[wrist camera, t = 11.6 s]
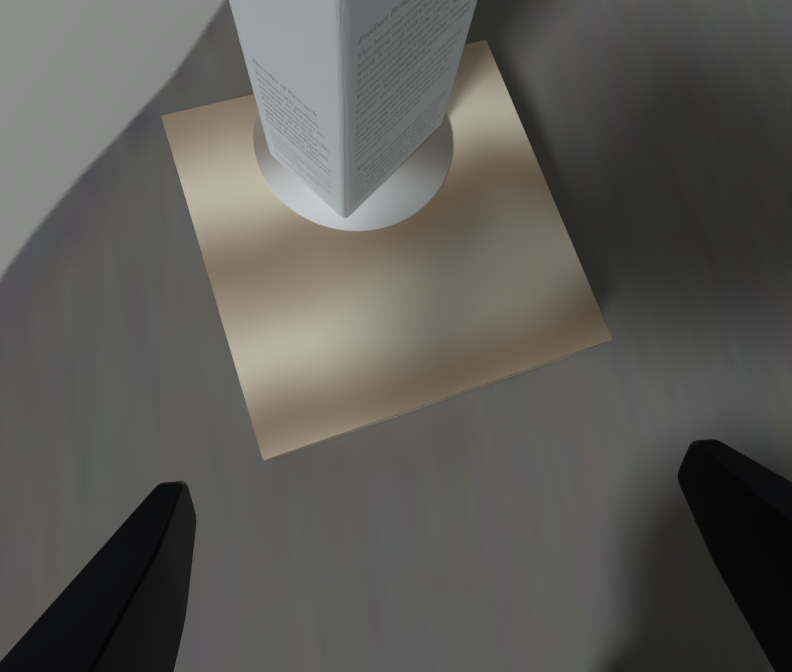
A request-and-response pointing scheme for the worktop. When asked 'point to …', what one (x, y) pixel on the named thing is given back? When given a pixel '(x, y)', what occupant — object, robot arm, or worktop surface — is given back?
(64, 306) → the worktop surface
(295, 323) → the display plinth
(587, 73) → the worktop surface
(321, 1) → the skincare box
